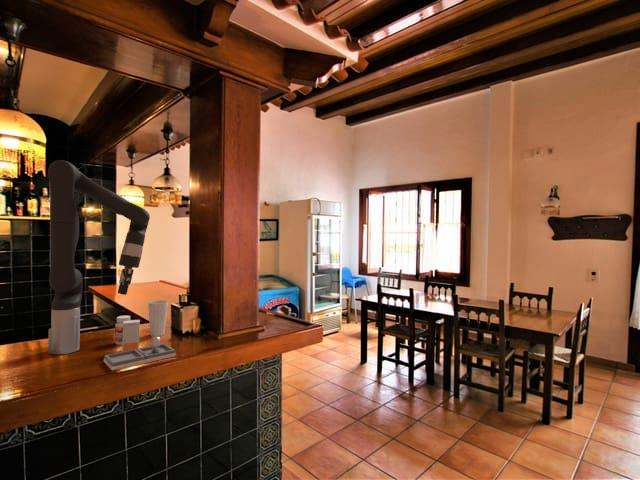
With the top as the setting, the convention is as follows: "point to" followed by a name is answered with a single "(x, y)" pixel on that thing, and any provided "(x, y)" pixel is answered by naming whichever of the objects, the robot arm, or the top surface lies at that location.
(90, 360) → the top surface
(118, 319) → the pill bottle
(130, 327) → the skincare box
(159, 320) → the cup
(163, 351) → the board
